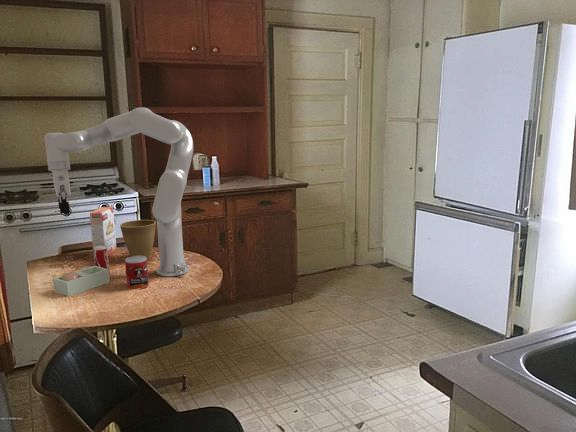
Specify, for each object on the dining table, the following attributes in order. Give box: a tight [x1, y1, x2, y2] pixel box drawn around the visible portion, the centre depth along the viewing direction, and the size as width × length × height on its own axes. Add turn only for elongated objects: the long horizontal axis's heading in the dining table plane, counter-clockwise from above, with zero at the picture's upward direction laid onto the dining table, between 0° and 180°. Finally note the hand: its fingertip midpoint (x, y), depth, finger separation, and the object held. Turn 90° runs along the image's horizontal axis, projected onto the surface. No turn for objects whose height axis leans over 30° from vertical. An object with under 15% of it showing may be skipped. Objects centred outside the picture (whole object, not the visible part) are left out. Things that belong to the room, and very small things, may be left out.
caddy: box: [52, 265, 111, 297], centre depth 183 cm, size 8×17×6 cm, turn 146°
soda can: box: [92, 245, 111, 275], centre depth 196 cm, size 5×5×12 cm
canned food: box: [124, 255, 150, 291], centre depth 183 cm, size 8×8×11 cm
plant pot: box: [119, 219, 157, 260], centre depth 218 cm, size 15×15×16 cm
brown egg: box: [61, 271, 78, 281], centre depth 179 cm, size 5×5×6 cm
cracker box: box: [89, 206, 117, 257], centre depth 225 cm, size 14×6×21 cm, turn 179°
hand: (64, 210), depth 191 cm, fingers open, 9 cm apart
